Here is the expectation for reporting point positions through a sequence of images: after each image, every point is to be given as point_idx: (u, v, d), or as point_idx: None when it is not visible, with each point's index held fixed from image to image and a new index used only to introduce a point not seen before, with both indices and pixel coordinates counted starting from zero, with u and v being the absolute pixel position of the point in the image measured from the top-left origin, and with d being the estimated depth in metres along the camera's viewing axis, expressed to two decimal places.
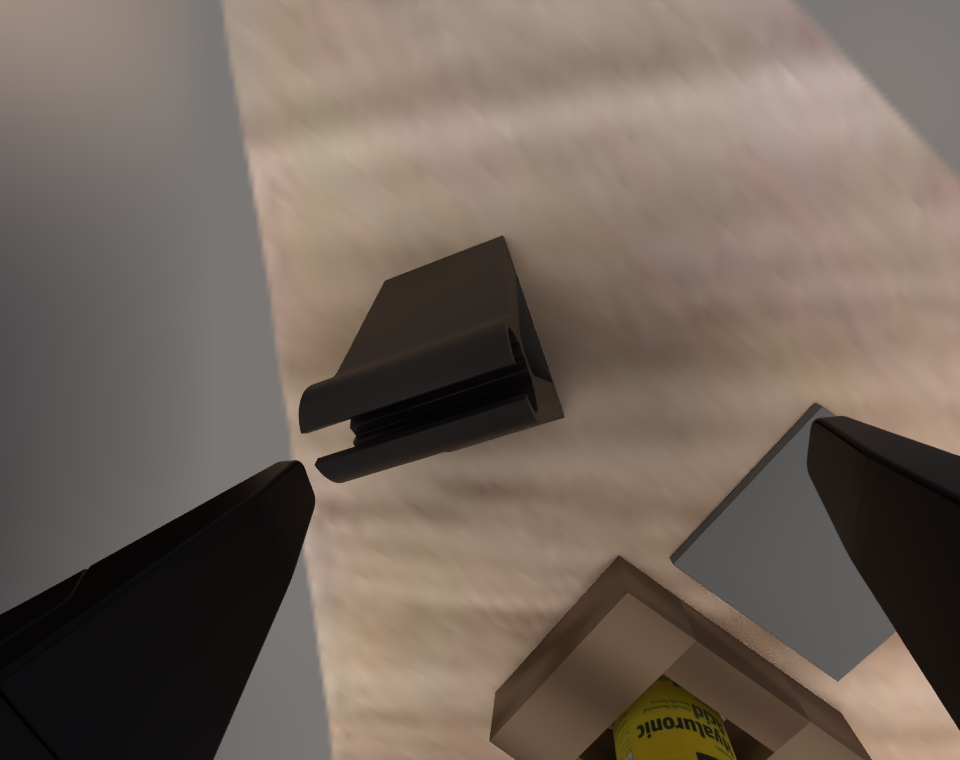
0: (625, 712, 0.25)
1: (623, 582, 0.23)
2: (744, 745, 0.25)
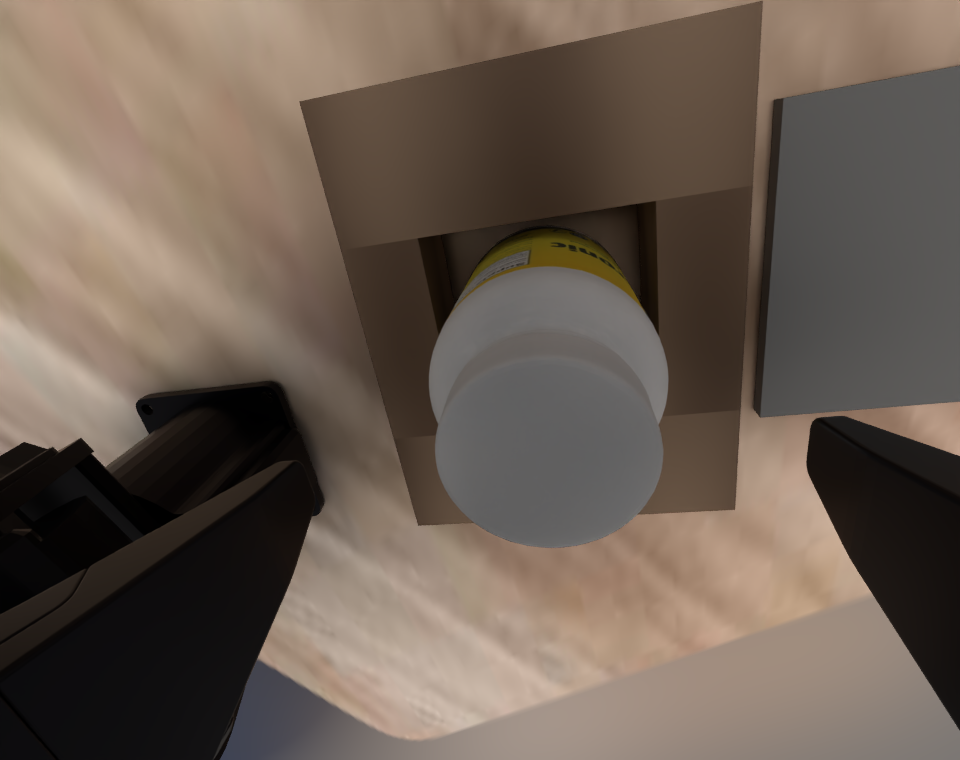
0: (533, 236, 0.14)
1: None
2: None
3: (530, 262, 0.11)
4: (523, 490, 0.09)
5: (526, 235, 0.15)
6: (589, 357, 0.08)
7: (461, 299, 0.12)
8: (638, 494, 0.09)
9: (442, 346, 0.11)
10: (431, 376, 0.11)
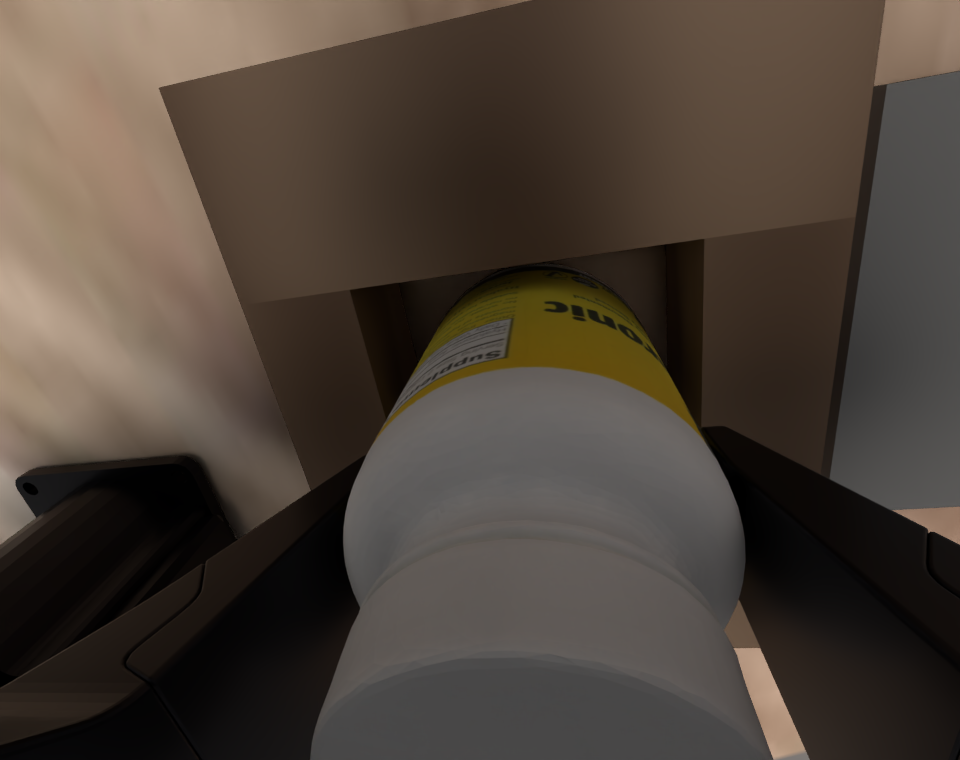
0: (520, 286, 0.10)
1: None
2: None
3: (509, 352, 0.07)
4: None
5: (510, 282, 0.10)
6: (628, 634, 0.04)
7: (398, 408, 0.07)
8: None
9: (357, 502, 0.06)
10: (344, 543, 0.07)
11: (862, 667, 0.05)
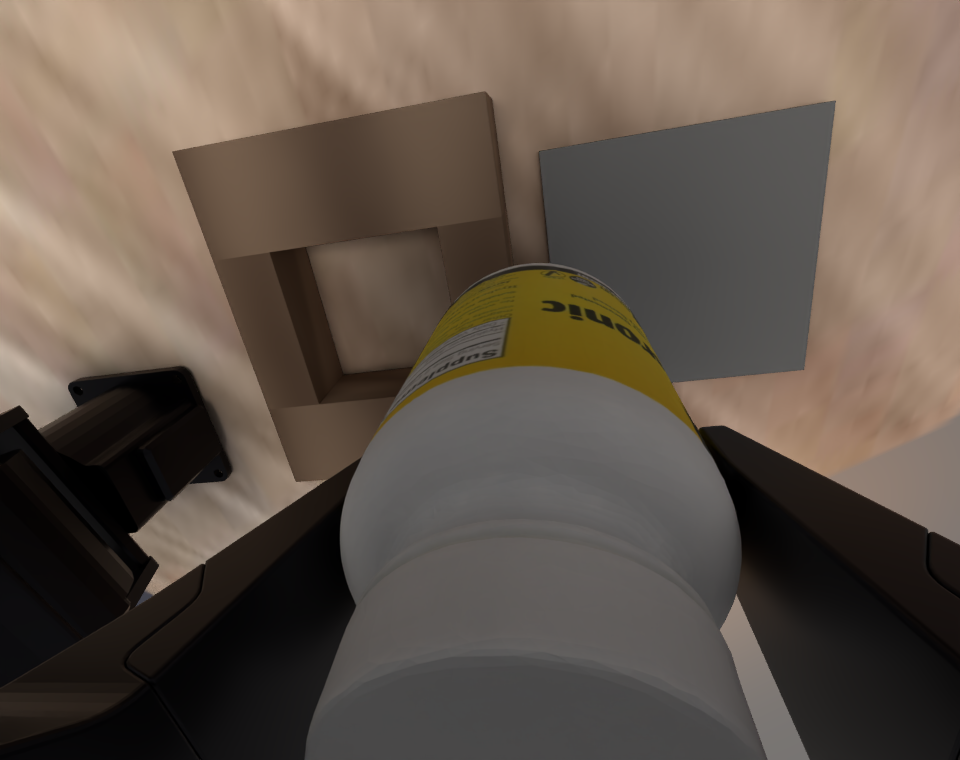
0: (517, 285, 0.10)
1: None
2: None
3: (506, 351, 0.07)
4: None
5: (507, 281, 0.10)
6: (621, 632, 0.04)
7: (394, 407, 0.07)
8: None
9: (353, 501, 0.06)
10: (341, 542, 0.07)
11: (862, 667, 0.05)
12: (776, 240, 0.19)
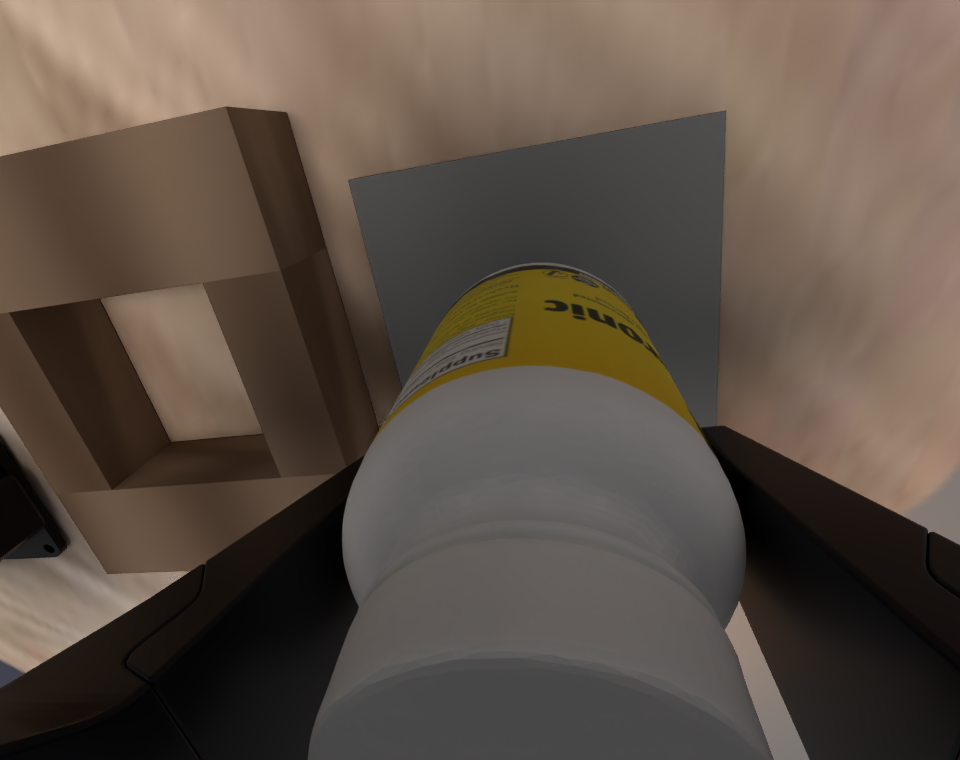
0: (520, 285, 0.10)
1: (241, 109, 0.12)
2: (263, 458, 0.17)
3: (509, 351, 0.07)
4: None
5: (509, 281, 0.10)
6: (627, 635, 0.04)
7: (397, 407, 0.07)
8: None
9: (356, 502, 0.06)
10: (343, 542, 0.07)
11: (862, 667, 0.05)
12: (664, 292, 0.14)
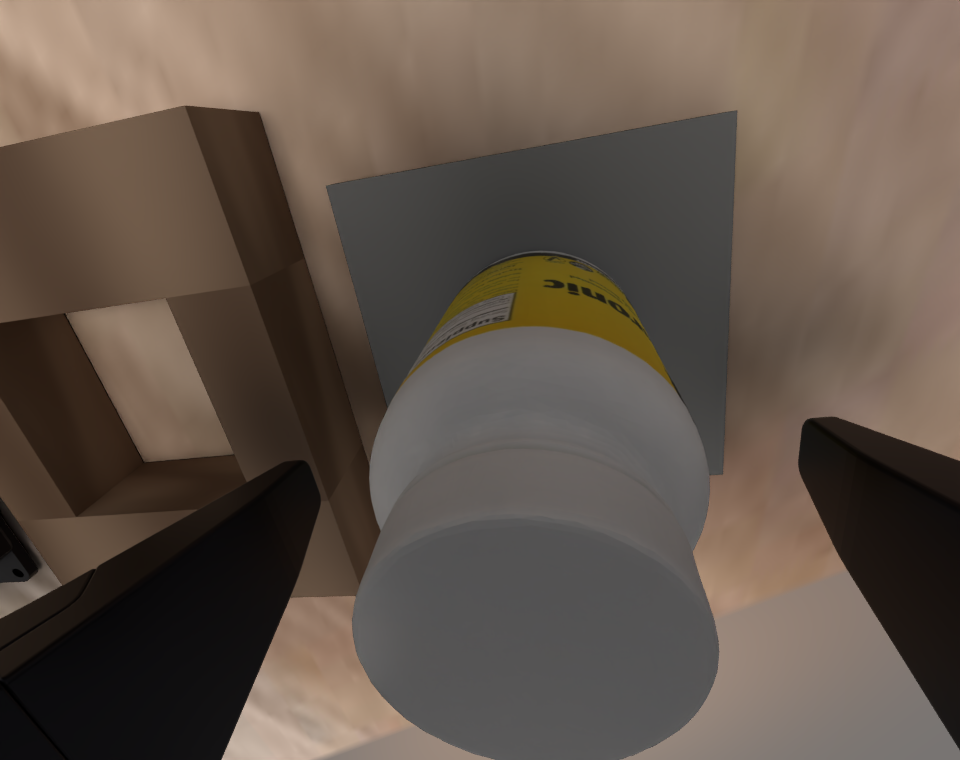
0: (522, 268, 0.11)
1: (204, 108, 0.11)
2: (239, 482, 0.16)
3: (512, 316, 0.08)
4: (492, 694, 0.06)
5: (513, 265, 0.11)
6: (599, 507, 0.05)
7: (416, 365, 0.08)
8: (676, 712, 0.05)
9: (383, 439, 0.07)
10: (371, 477, 0.08)
11: None
12: (669, 307, 0.13)
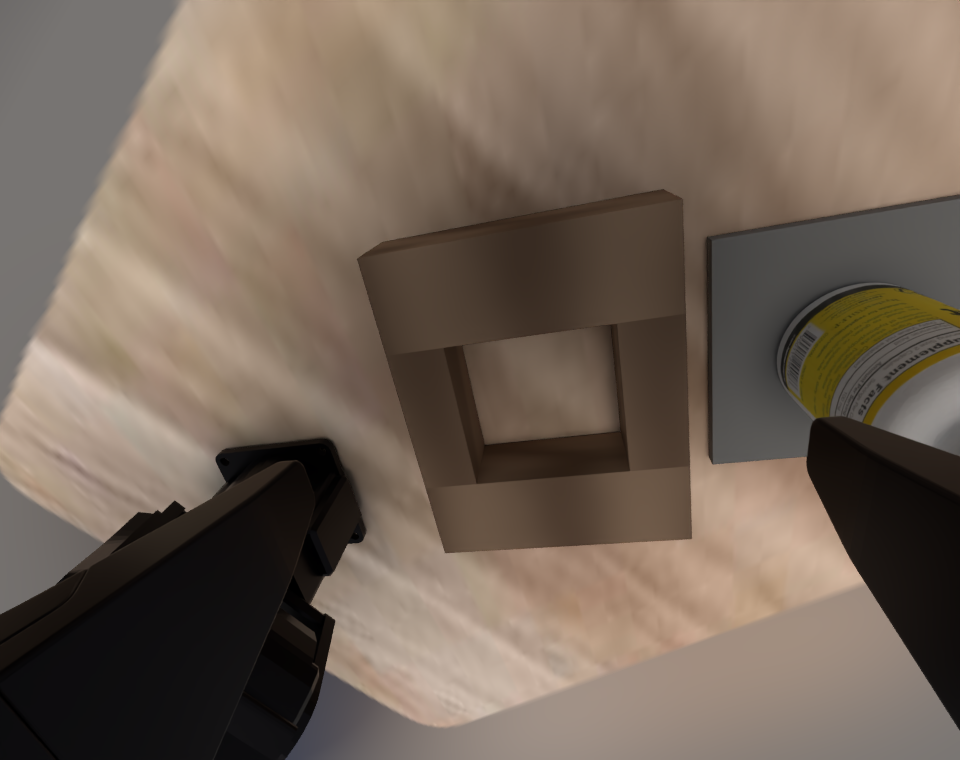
0: (896, 298, 0.16)
1: (673, 196, 0.16)
2: (593, 456, 0.22)
3: None
4: None
5: (880, 296, 0.17)
6: None
7: (908, 366, 0.13)
8: None
9: (919, 411, 0.13)
10: None
11: None
12: None
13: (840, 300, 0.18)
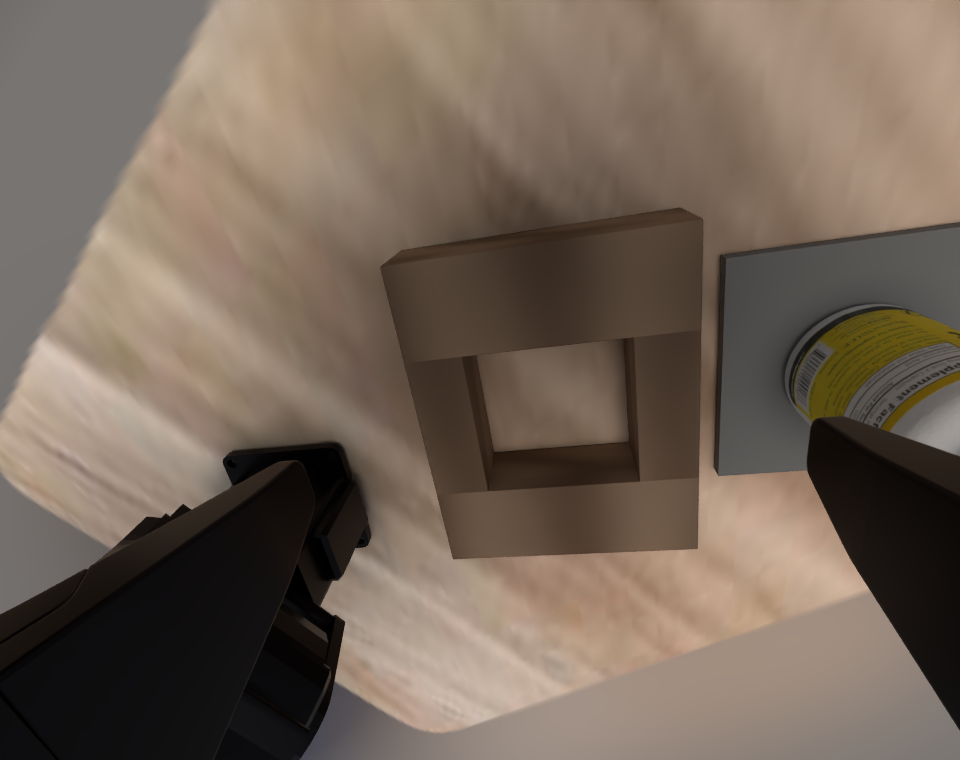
0: (904, 320, 0.17)
1: (693, 216, 0.17)
2: (603, 466, 0.22)
3: None
4: None
5: (888, 317, 0.17)
6: None
7: (920, 388, 0.14)
8: None
9: (932, 431, 0.13)
10: None
11: None
12: None
13: (849, 320, 0.18)
